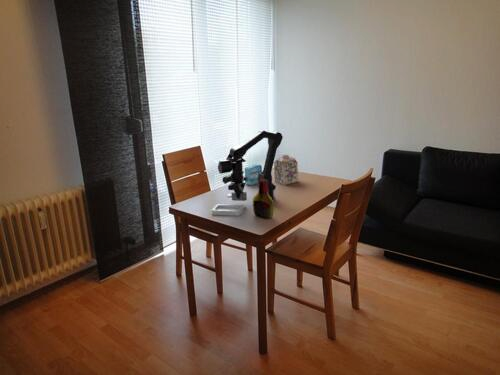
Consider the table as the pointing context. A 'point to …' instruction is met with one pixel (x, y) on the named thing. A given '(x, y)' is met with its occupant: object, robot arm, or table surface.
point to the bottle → (263, 201)
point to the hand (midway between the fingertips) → (239, 197)
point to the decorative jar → (286, 170)
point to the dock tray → (228, 209)
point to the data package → (253, 173)
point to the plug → (242, 197)
